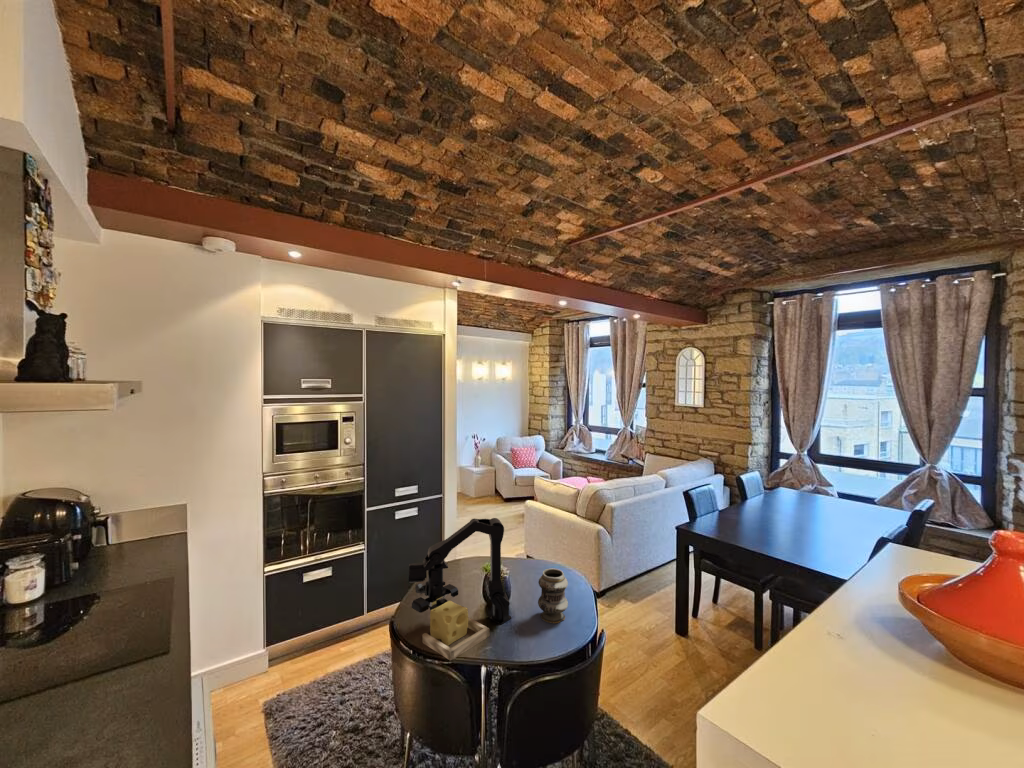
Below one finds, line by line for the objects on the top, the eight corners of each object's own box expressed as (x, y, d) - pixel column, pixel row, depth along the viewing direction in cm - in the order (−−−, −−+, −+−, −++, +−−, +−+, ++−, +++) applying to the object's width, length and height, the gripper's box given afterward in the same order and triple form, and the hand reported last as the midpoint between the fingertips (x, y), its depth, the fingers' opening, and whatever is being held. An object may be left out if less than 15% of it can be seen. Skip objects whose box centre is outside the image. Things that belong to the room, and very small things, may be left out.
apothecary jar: (555, 628, 167) (555, 582, 167) (531, 617, 176) (531, 572, 175) (573, 616, 176) (573, 572, 176) (550, 605, 184) (550, 563, 184)
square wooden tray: (489, 636, 163) (489, 628, 163) (450, 660, 148) (450, 652, 148) (461, 621, 173) (461, 613, 173) (422, 642, 159) (422, 634, 159)
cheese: (447, 647, 156) (447, 619, 156) (428, 635, 163) (428, 609, 163) (468, 634, 164) (468, 607, 164) (449, 624, 171) (449, 598, 171)
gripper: (441, 565, 181) (441, 603, 181) (403, 581, 167) (403, 621, 167) (459, 573, 173) (459, 612, 174) (420, 590, 160) (420, 633, 160)
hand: (435, 619), depth 169 cm, fingers closed
